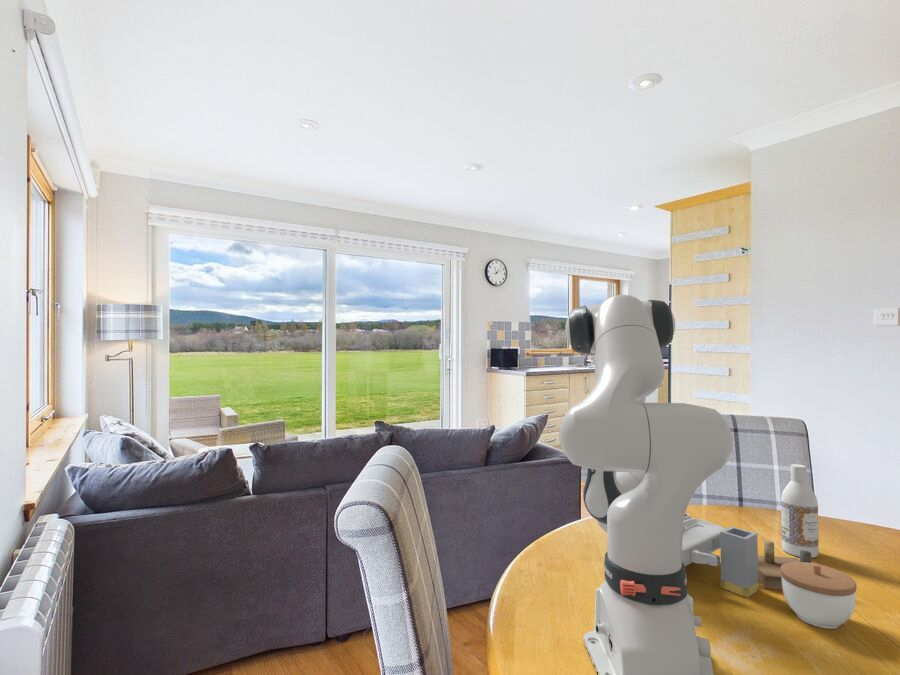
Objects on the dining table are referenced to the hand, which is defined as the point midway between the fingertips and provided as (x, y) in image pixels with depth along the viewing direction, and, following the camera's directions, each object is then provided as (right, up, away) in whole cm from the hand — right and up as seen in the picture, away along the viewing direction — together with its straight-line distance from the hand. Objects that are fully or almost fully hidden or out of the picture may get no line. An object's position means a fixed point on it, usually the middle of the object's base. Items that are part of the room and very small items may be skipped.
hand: (729, 555), depth 99 cm
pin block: (+12, -6, +3) cm, 14 cm away
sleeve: (+1, -6, -1) cm, 6 cm away
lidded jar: (+8, -6, -12) cm, 16 cm away
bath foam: (+25, -6, +15) cm, 30 cm away
